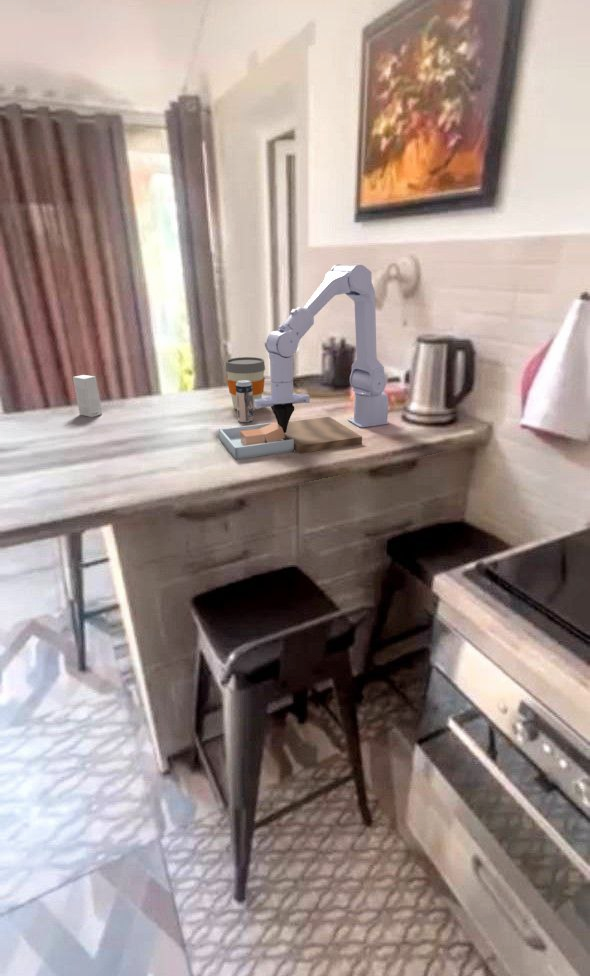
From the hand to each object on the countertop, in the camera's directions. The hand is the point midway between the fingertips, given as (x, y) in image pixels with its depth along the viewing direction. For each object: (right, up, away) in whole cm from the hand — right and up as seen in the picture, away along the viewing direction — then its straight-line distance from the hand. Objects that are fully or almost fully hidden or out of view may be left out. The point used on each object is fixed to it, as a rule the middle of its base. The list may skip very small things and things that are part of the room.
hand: (282, 431), depth 136 cm
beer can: (-12, +5, +19) cm, 22 cm away
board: (+9, -1, +4) cm, 10 cm away
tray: (-7, -4, -1) cm, 8 cm away
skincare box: (-61, +8, +26) cm, 67 cm away
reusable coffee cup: (-12, +12, +33) cm, 37 cm away
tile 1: (-8, -3, -2) cm, 9 cm away
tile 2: (-3, -2, 0) cm, 3 cm away
